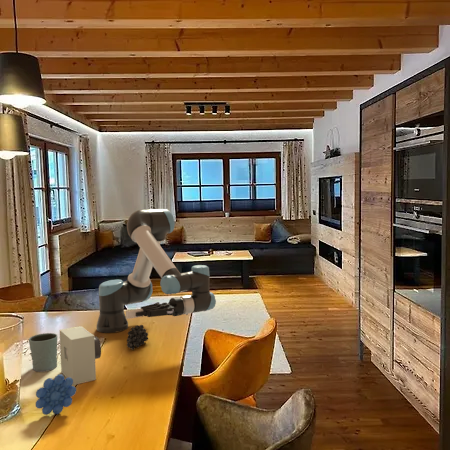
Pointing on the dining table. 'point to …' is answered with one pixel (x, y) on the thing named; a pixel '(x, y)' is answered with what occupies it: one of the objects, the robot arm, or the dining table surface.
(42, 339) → the grey-green cup
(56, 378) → the grapes
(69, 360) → the cream rectangular block
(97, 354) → the knob
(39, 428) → the dining table surface
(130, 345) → the fruit
